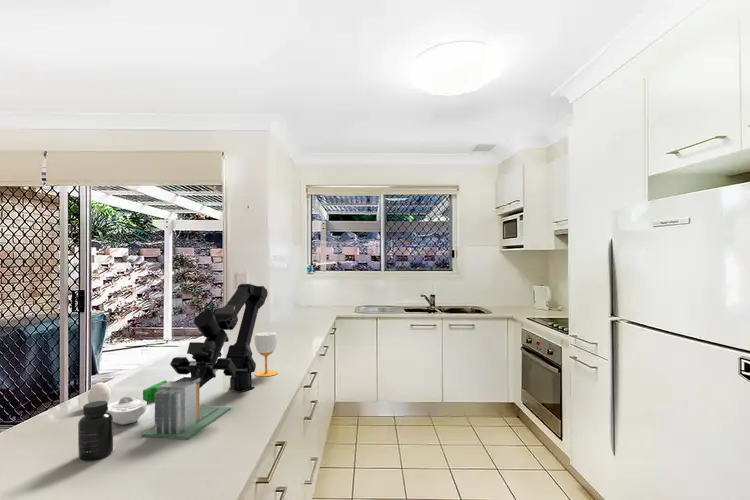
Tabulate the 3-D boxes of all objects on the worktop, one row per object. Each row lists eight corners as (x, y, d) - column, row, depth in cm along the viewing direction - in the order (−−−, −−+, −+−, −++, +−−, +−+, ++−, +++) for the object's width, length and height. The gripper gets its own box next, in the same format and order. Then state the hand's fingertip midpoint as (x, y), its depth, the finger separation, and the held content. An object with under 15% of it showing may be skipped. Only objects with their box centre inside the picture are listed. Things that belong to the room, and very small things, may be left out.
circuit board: (191, 407, 131) (191, 405, 131) (230, 409, 129) (230, 407, 129) (142, 436, 110) (142, 434, 110) (188, 439, 108) (188, 436, 108)
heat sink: (195, 410, 129) (195, 369, 129) (219, 411, 128) (219, 370, 128) (152, 436, 110) (152, 388, 110) (180, 437, 109) (180, 389, 109)
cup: (274, 376, 166) (274, 335, 166) (251, 377, 166) (251, 336, 166) (279, 370, 175) (279, 331, 175) (258, 371, 175) (257, 332, 175)
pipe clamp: (153, 404, 135) (153, 390, 135) (142, 404, 136) (142, 390, 136) (174, 393, 146) (173, 380, 147) (163, 393, 147) (163, 380, 147)
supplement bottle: (89, 449, 102) (89, 399, 103) (118, 448, 103) (118, 398, 103) (71, 462, 96) (71, 409, 96) (102, 461, 96) (103, 408, 96)
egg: (82, 409, 131) (83, 384, 132) (101, 402, 137) (101, 379, 137) (96, 411, 129) (97, 386, 130) (115, 404, 135) (115, 380, 135)
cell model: (103, 433, 112) (103, 407, 113) (107, 418, 123) (107, 395, 123) (146, 426, 117) (146, 401, 117) (147, 412, 128) (147, 389, 128)
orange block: (183, 417, 121) (183, 382, 121) (199, 418, 120) (199, 382, 120) (178, 420, 119) (179, 384, 119) (195, 420, 118) (195, 384, 118)
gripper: (173, 330, 128) (148, 376, 117) (231, 331, 125) (211, 379, 114) (189, 351, 135) (167, 396, 124) (244, 352, 133) (226, 399, 121)
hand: (192, 392), depth 121 cm, fingers closed, pressing on orange block
